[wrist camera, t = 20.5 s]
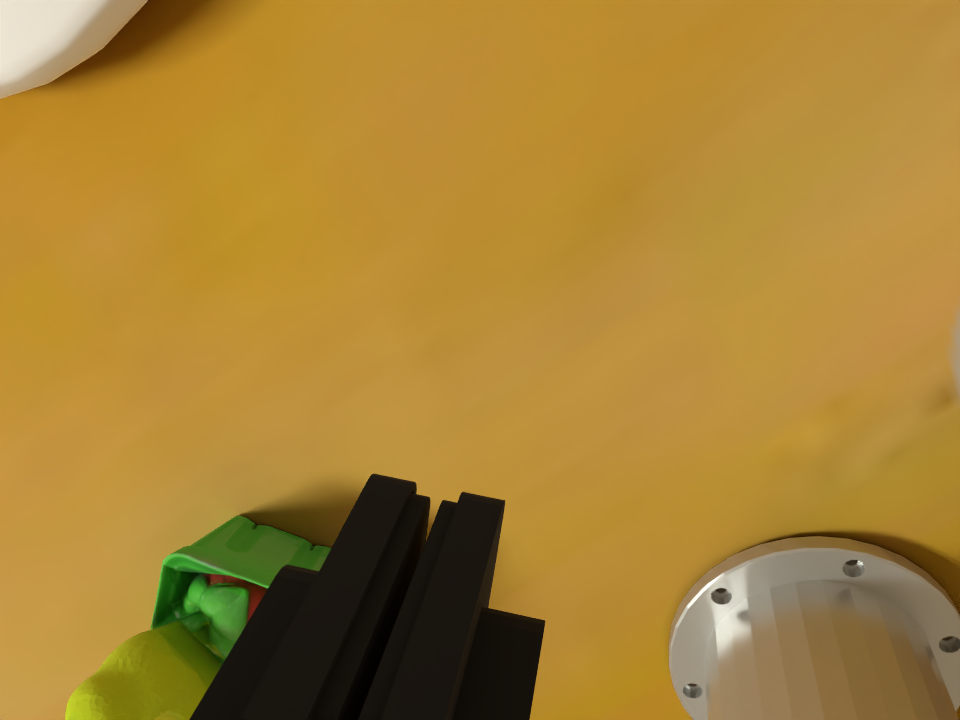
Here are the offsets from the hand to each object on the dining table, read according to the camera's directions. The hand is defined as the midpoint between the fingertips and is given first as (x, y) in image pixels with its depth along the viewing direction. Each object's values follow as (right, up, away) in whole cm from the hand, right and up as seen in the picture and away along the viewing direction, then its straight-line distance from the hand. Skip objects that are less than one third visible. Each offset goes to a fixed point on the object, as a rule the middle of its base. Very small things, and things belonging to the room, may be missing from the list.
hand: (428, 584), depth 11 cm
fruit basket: (-10, -9, +34) cm, 37 cm away
